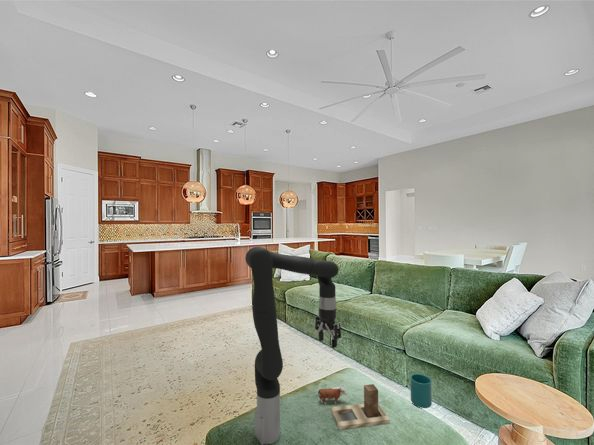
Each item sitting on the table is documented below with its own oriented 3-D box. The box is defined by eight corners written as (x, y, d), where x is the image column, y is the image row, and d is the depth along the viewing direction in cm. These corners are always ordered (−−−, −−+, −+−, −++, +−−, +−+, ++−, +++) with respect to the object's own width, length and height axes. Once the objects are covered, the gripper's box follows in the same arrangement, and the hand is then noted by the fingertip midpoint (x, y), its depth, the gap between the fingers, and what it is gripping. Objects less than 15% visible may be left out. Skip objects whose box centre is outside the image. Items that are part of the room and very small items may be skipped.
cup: (423, 393, 138) (423, 370, 139) (435, 408, 126) (435, 384, 127) (405, 393, 138) (405, 370, 139) (415, 409, 126) (415, 384, 127)
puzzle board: (339, 431, 112) (339, 426, 112) (330, 412, 124) (330, 407, 124) (389, 425, 116) (389, 419, 116) (376, 406, 128) (376, 401, 128)
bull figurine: (347, 407, 128) (347, 389, 128) (318, 406, 128) (318, 389, 128) (346, 401, 132) (346, 383, 132) (317, 400, 132) (317, 383, 133)
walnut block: (368, 419, 118) (368, 391, 119) (364, 412, 123) (364, 385, 123) (378, 418, 119) (378, 389, 119) (373, 411, 124) (373, 384, 124)
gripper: (310, 304, 125) (310, 340, 125) (332, 312, 113) (332, 352, 113) (323, 301, 129) (323, 336, 129) (345, 309, 117) (345, 347, 117)
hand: (327, 343), depth 121 cm, fingers open, 8 cm apart
